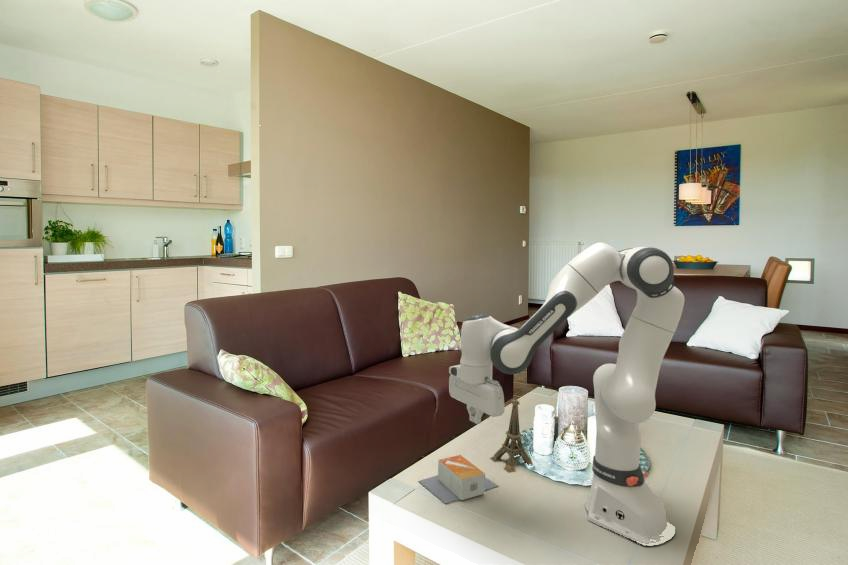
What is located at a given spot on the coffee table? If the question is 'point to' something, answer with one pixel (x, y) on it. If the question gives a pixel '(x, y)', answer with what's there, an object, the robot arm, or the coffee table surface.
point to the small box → (461, 477)
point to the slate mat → (444, 492)
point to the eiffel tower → (512, 442)
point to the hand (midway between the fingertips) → (475, 421)
